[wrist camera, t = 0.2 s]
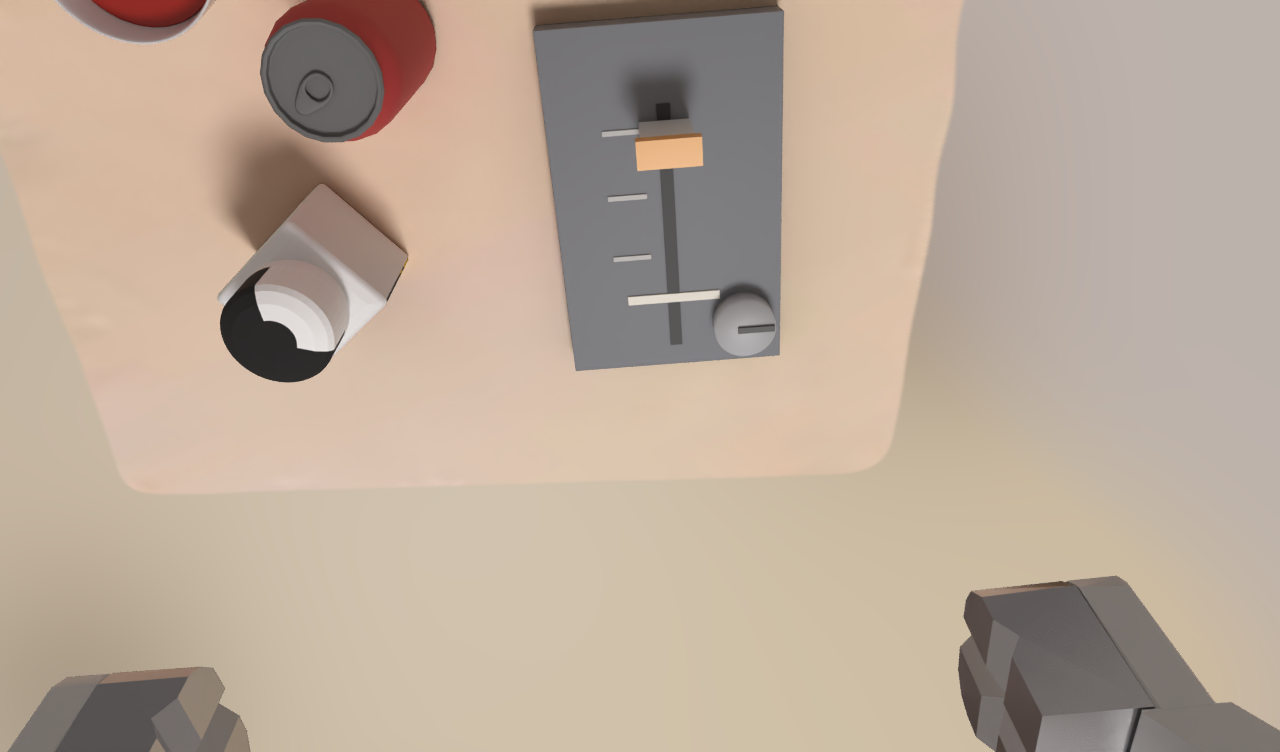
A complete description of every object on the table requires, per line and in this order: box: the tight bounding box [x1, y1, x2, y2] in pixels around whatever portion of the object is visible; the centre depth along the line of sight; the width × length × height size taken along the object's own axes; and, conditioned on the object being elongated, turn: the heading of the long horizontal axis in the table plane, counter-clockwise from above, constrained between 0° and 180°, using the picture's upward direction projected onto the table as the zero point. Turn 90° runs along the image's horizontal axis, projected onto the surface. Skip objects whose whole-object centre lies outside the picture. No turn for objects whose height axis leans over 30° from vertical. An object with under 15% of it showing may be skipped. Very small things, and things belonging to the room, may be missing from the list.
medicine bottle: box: [217, 184, 408, 382], centre depth 52 cm, size 7×7×12 cm
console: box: [533, 6, 784, 371], centre depth 54 cm, size 22×14×4 cm, turn 4°
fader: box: [635, 118, 703, 171], centre depth 49 cm, size 2×4×5 cm, turn 94°
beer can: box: [260, 0, 436, 142], centre depth 45 cm, size 7×7×12 cm
